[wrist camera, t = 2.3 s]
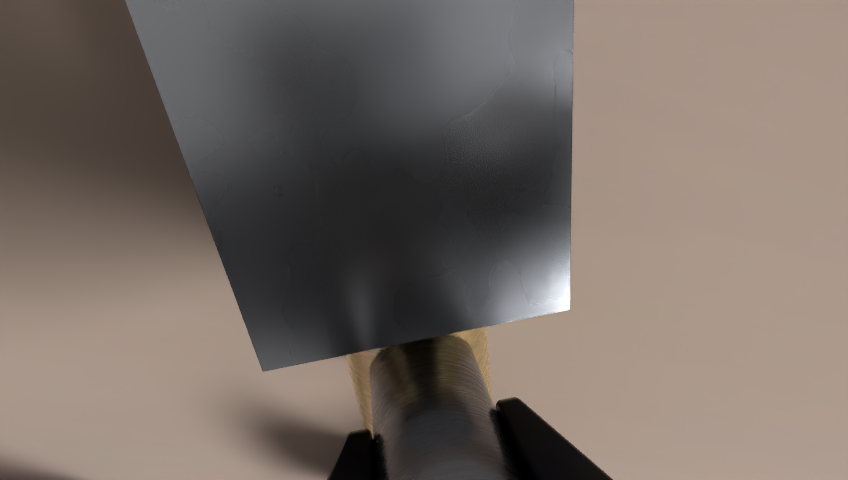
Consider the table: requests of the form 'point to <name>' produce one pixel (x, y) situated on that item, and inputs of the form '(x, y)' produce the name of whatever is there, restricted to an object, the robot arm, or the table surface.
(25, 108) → the table surface
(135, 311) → the table surface
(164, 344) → the table surface
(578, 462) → the robot arm
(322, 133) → the grey hammer head
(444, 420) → the gold elongated piece
